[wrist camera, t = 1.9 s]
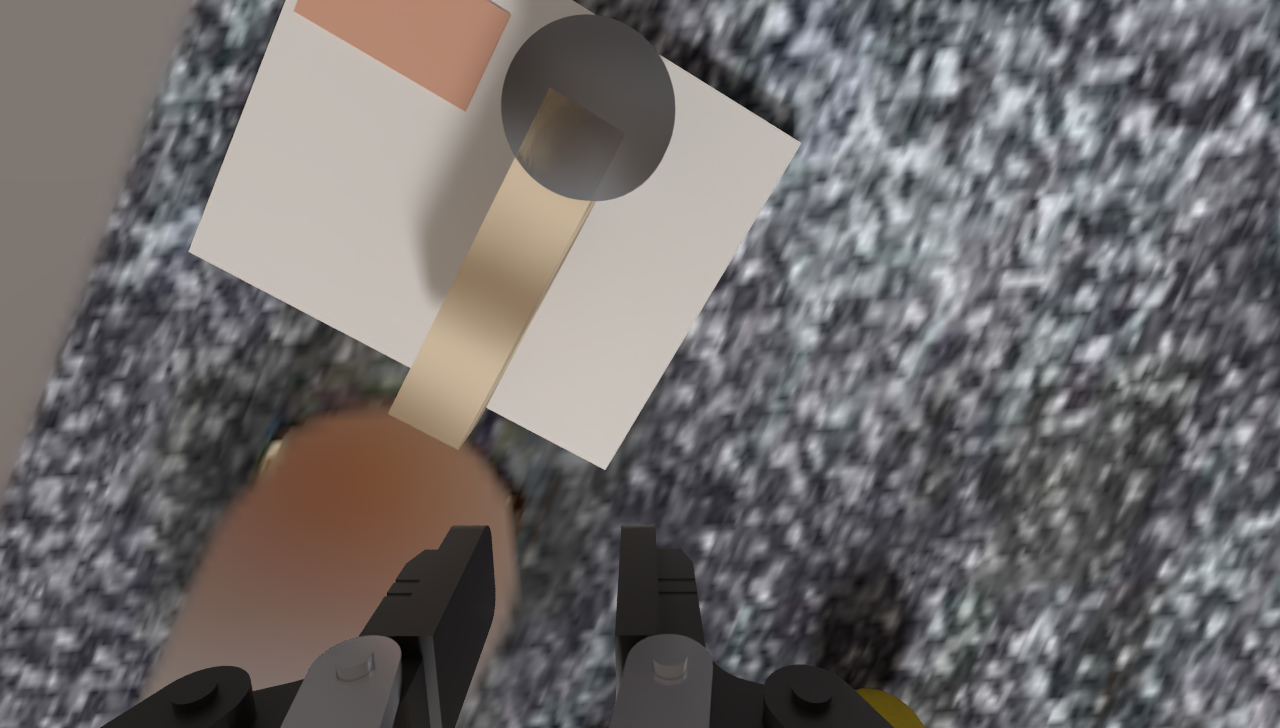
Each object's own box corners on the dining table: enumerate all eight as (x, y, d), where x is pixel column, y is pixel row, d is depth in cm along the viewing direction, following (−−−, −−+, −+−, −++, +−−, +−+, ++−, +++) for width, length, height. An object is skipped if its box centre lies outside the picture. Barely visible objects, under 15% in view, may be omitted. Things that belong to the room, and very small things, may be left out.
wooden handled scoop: (562, 5, 23) (551, -23, 21) (699, 91, 24) (708, 75, 21) (383, 374, 27) (352, 395, 24) (507, 439, 28) (492, 467, 25)
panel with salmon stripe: (357, -125, 27) (302, -190, 22) (793, 146, 29) (820, 135, 25) (210, 249, 30) (138, 256, 26) (606, 458, 33) (601, 496, 29)
